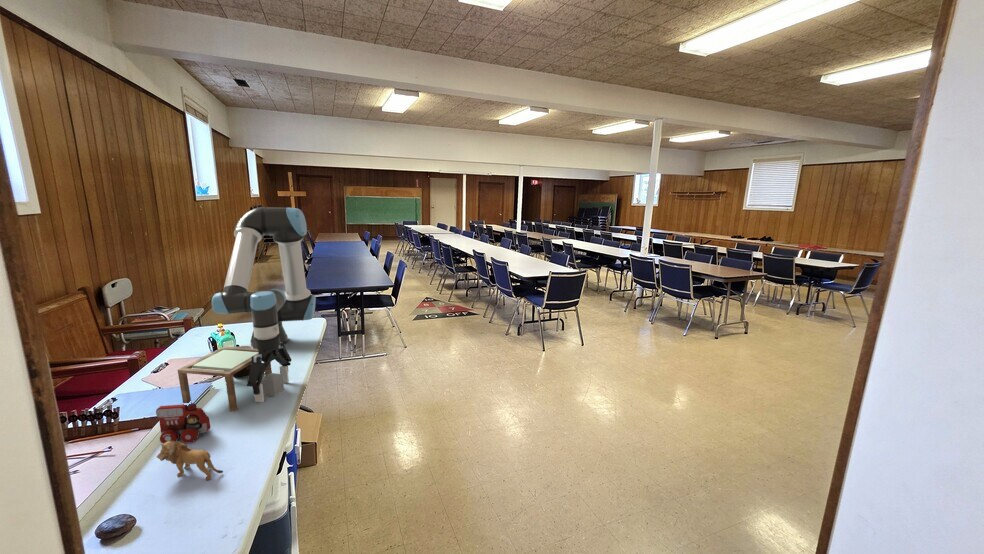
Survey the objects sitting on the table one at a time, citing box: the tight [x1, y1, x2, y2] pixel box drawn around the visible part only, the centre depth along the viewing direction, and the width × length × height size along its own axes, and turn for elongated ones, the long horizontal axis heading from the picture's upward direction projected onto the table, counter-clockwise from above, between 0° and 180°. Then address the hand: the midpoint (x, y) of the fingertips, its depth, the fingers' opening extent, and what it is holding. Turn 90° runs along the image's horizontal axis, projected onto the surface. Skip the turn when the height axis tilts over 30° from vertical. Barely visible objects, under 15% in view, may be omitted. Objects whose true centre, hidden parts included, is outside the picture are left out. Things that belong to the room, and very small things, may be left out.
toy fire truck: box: [155, 402, 211, 444], centre depth 110 cm, size 7×12×10 cm, turn 102°
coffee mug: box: [233, 345, 254, 379], centre depth 149 cm, size 12×9×10 cm
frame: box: [177, 346, 273, 413], centre depth 132 cm, size 19×18×14 cm
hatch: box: [192, 350, 259, 371], centre depth 131 cm, size 13×14×1 cm
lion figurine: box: [156, 440, 224, 481], centre depth 96 cm, size 15×5×9 cm, turn 91°
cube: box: [260, 372, 285, 397], centre depth 135 cm, size 5×5×6 cm
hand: (272, 391), depth 136 cm, fingers open, 13 cm apart
